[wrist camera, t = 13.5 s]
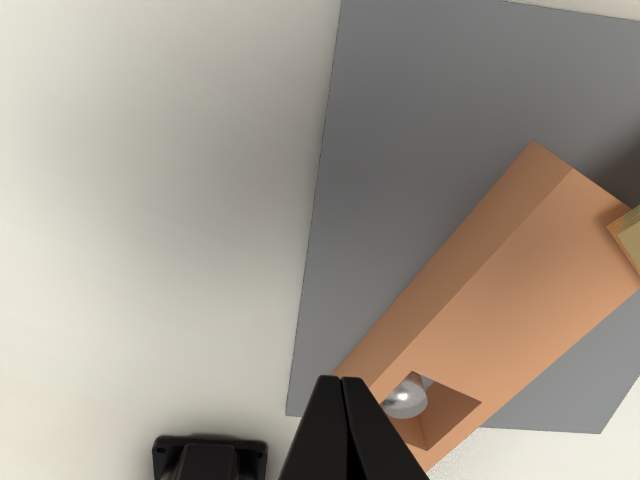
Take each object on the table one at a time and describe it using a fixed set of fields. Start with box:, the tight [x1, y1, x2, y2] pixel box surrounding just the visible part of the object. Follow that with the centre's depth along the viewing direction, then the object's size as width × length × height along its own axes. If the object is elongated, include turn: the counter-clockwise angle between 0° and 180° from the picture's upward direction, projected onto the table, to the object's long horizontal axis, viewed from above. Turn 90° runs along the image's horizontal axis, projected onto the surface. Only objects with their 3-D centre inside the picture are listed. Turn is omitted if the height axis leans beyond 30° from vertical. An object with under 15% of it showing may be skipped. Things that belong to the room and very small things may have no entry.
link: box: [332, 140, 640, 473], centre depth 20 cm, size 16×6×3 cm, turn 148°
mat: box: [286, 0, 640, 434], centre depth 21 cm, size 21×18×1 cm
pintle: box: [382, 371, 428, 419], centre depth 22 cm, size 2×2×3 cm
